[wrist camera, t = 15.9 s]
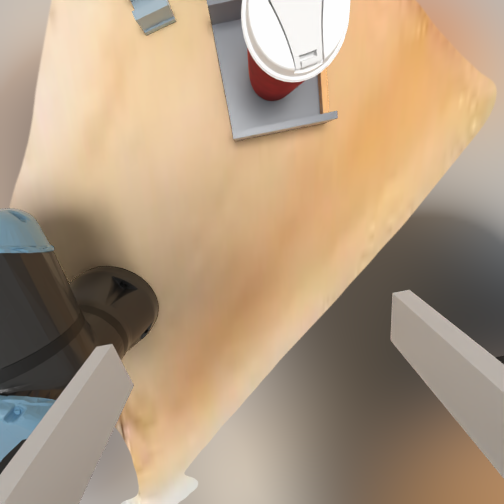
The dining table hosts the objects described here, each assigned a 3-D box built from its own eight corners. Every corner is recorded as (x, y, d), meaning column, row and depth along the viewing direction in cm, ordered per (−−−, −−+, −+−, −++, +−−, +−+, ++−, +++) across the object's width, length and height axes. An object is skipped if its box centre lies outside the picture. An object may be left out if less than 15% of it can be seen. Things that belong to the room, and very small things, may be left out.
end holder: (234, 141, 34) (233, 139, 30) (211, 20, 29) (205, -5, 25) (324, 123, 34) (337, 118, 29) (316, -3, 29) (331, -32, 24)
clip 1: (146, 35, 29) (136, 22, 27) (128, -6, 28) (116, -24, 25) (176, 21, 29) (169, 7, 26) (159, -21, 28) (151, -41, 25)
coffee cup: (310, 99, 32) (365, 55, 18) (251, 119, 33) (260, 92, 19) (295, 22, 29) (348, -103, 15) (231, 46, 30) (223, -53, 16)
